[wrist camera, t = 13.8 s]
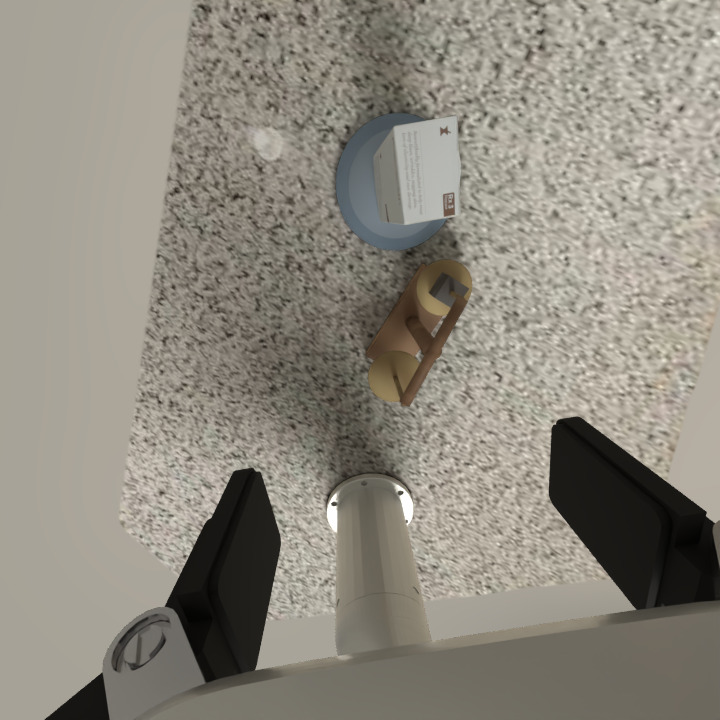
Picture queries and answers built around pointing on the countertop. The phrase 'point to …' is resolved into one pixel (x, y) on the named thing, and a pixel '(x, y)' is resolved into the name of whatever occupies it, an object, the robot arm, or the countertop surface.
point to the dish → (361, 194)
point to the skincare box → (419, 172)
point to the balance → (417, 330)
